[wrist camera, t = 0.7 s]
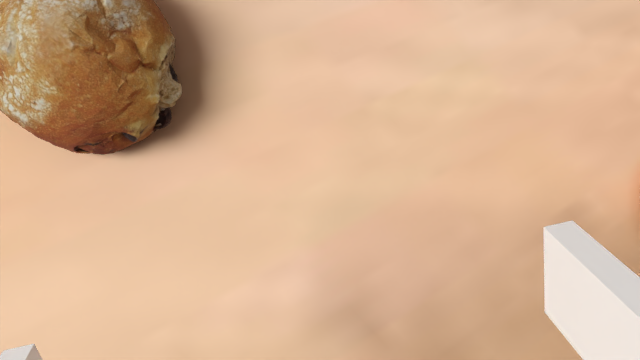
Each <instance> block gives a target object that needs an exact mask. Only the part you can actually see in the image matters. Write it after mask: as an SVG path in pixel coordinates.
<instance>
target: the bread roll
mask: <svg viewBox="0 0 640 360" xmlns="http://www.w3.org/2000/svg"><path fill="white" fill-rule="evenodd" d="M170 31H171V28H170V27H169V25H168V23H167V21H166V19H165V18H164V17H163V15H162V13H161V11H160V9H159V8H158V7H157V5H156V4H155V3H154V1H153V0H0V111H2V112H3V113H4V114H5V115H6V116H7V117H9V118H10V119H11V120H12V121H14V122H16V123H18V124H19V125H20V126H22V127H23V128H24V129H26V130H27V131H29V132H31V133H32V134H34V135H35V136H36V137H38V138H40V139H43V140H45V141H48V142H50V143H51V144H53V145H55V146H58V147H61V148H64V149H67V150H70V151H72V152H76V153H95V154H109V153H114V152H116V151H119V150H122V149H124V148H126V147H128V146H130V145H132V144H134V143H136V142H140V141H142V140H143V139H145V138H146V137H148V136H149V135H150V134H151V133H152V132H153V131H154V132H155V131H156V130H157V129H160V128H163V127H165V126H167V125H168V124H170V120H171V119H172V116H171V110H170V108H169V107H173V106H174V105H176V100H178V99H179V98H180V96H181V94H182V86H181V84H180V83H178V79H177V76H176V74H175V72H174V70H173V68H172V61H173V59H174V57H175V51H174V48H175V44H174V42H175V38H174V36H173V35H172V33H171V32H170Z"/></svg>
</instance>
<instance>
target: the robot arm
mask: <svg viewBox="0 0 640 360" xmlns="http://www.w3.org/2000/svg"><path fill="white" fill-rule="evenodd" d="M544 297H545V313H546V314H547V316H548V317H549V318H550V319H551V321H552V322H553V323H554V324H555V325H556V327H557V328H558V329H559V330H560V332H561V333H562V334H563V335H564V337H565V338H566V339H567V340H568V342H569V343H570V344H571V345H572V346H573V348H574V349H575V350H576V351H577V353H578V354H579V355H580V356H581V358H582V359H583V360H640V277H639V276H637V275H636V274H635V273H634V272H633V271H632V270H630V269H629V268H628V267H627V266H626V265H624V264H623V263H622V262H621V261H620V260H618V259H617V258H616V257H615V256H614V255H613V254H611V253H610V252H609V251H608V250H607V249H605V248H604V247H603V246H602V245H601V244H600V243H598V242H597V241H596V240H595V239H594V238H592V237H591V236H590V235H589V234H588V233H586V232H585V231H584V230H583V229H582V228H581V227H579V226H578V225H577V224H576V223H575V222H573V221H568V222H564V223H559V224H555V225H550V226H546V227H544ZM0 360H42V358H41V356H40V354H39V352H38V350H37V348H36V346H35V344H31V345H26V346H22V347H17V348H13V349H9V350H4V351H3V352H2V354H1V355H0Z"/></svg>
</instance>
